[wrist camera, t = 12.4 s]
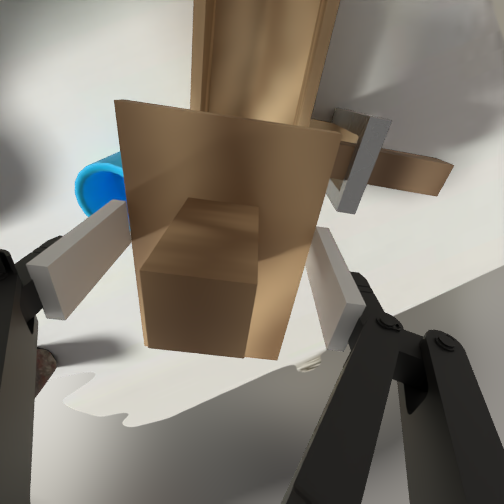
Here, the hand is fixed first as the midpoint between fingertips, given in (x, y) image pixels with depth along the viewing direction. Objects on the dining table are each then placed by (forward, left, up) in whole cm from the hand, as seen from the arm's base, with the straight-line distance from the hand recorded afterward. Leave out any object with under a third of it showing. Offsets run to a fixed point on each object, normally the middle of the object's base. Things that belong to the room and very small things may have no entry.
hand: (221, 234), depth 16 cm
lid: (0, -2, -1) cm, 3 cm away
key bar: (+13, +3, -14) cm, 20 cm away
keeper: (+11, +3, -22) cm, 24 cm away
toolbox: (+4, +9, -22) cm, 24 cm away
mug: (-15, -7, -22) cm, 27 cm away
